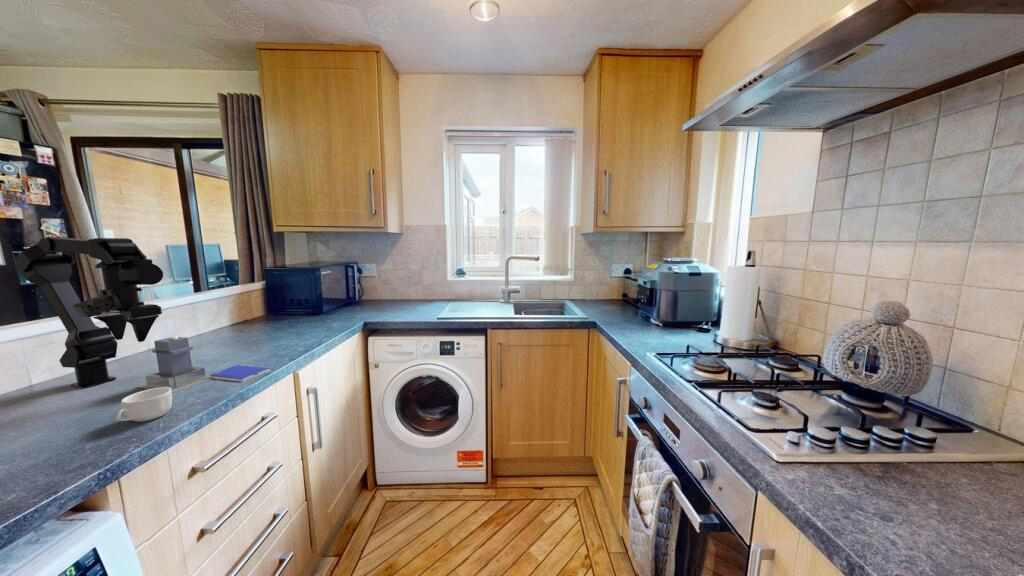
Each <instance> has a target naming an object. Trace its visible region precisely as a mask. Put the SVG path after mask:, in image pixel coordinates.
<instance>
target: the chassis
mask: <svg viewBox="0 0 1024 576" xmlns="http://www.w3.org/2000/svg"><path fill="white" fill-rule="evenodd" d="M192 370H193V371H189V372H186V373H183V374H180V375H176V376H173V377H169V376H162V375H160V374H159V371H157V372H153V373H149V374H147V375H145V382H141V383H139V384H137V388H139V389H140V388H141V389H145V390H149V389H153V388H160V387H169V388H171V389H172V394H173V393H177V392H179V391H181V390H184V389H187V388H191V387H193V386H196V385H199V384H202V383H205V382H207V381H211V380H214V377H213V376H210V375H211V374H208V373H207V374H206V371H205V370H206V369H205V367H202V366H201V367H200V366H194V365H192Z"/></svg>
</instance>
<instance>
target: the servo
mask: <svg viewBox="0 0 1024 576" xmlns="http://www.w3.org/2000/svg"><path fill="white" fill-rule="evenodd" d="M153 342H154V348H153V349H152V350H151V352H152V353H154V354H156V360H157V367H158V372H159V374H160V375H162V376H169V377H173V376H176V375H180V374H183V373H186V372H189V371H193V370H192V366H193V365H192V360H191V359H192V358H191V352H190V351H193V350H194V348H193V346H190V343H189V338H188V337H182V336H177V335H176V336H171V337H167V338H163V339H157V340H153Z"/></svg>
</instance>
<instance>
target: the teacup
mask: <svg viewBox="0 0 1024 576" xmlns="http://www.w3.org/2000/svg"><path fill="white" fill-rule="evenodd" d="M121 405H122V408H121V409H119V410H118V412H117V413H116V419H117V421H121V422H122V421H123V422H124V421H125V422H126V421H133V422H139V423H142V422H148V421H153V420H156V419H158V418H160V417H162V416H164V415H165V414H166V413H167V414H168V412H169V411H170V410H171V407H172V405H173V393H172V389H171V388H169V387H160V388H153V389H145V390H141V391H138V392H135V393H132V394H129V395H127V396H126V397H125V396H124V398H122V399H121ZM122 413H124V415H125V416H126V418H122V416H121V414H122Z"/></svg>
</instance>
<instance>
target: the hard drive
mask: <svg viewBox="0 0 1024 576" xmlns="http://www.w3.org/2000/svg"><path fill="white" fill-rule="evenodd" d="M268 372H270V368H269V367H260V366H249V365H241V364H236V365H234V366H230V367H227V368H224V369H221V370H218V371H216V372H212V373H210V374H209V375H210V376H213V377H214V379H215V380H225V381H231V382H241V383H243V382H246V381H249V380H251V379H253V378H255V377H259V376H261V375H263V374H267V373H268ZM214 379H213V380H214Z"/></svg>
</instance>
